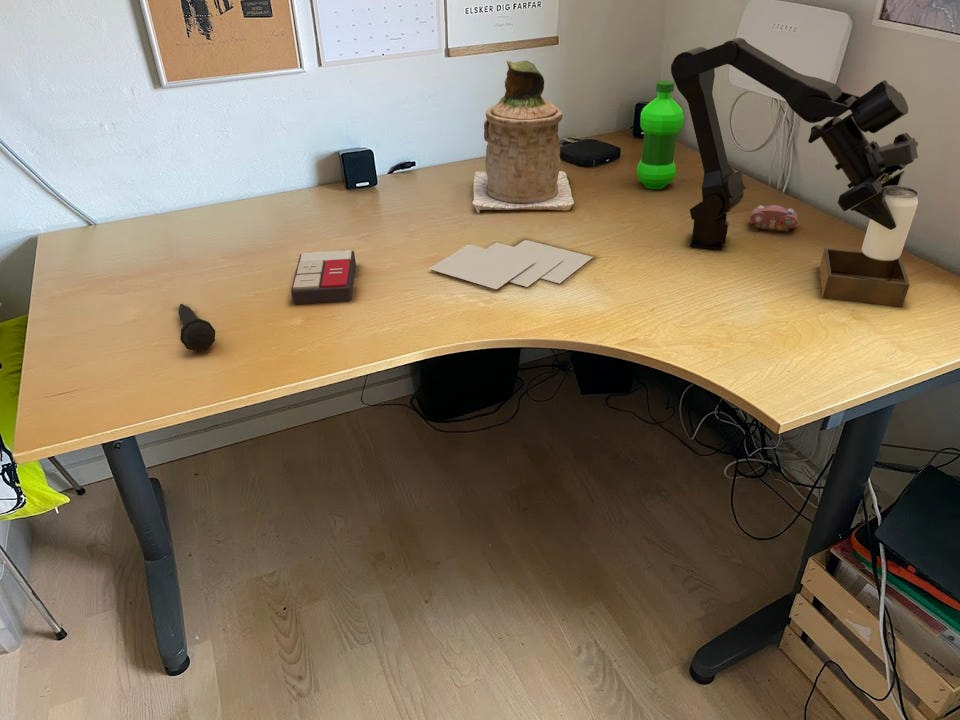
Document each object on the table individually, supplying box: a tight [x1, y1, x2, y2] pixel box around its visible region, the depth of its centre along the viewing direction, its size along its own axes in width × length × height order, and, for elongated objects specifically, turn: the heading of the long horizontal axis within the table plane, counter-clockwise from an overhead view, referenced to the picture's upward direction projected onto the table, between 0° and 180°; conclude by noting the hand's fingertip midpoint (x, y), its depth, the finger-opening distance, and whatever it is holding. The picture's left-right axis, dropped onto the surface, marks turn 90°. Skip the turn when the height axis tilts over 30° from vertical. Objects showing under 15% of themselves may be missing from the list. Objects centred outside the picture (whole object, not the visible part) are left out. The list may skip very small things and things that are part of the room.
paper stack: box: [428, 239, 594, 290], centre depth 147 cm, size 23×25×1 cm
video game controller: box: [749, 204, 799, 232], centre depth 157 cm, size 10×5×7 cm, turn 68°
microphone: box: [178, 303, 216, 352], centre depth 128 cm, size 6×6×20 cm
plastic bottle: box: [636, 80, 685, 190], centre depth 176 cm, size 10×10×25 cm
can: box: [861, 185, 919, 261], centre depth 128 cm, size 6×6×12 cm
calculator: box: [290, 249, 357, 305], centre depth 141 cm, size 11×4×15 cm
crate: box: [818, 247, 910, 308], centre depth 134 cm, size 13×12×4 cm
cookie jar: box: [471, 59, 575, 214], centre depth 172 cm, size 25×25×32 cm
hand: (899, 222), depth 127 cm, fingers closed on can, 6 cm apart
